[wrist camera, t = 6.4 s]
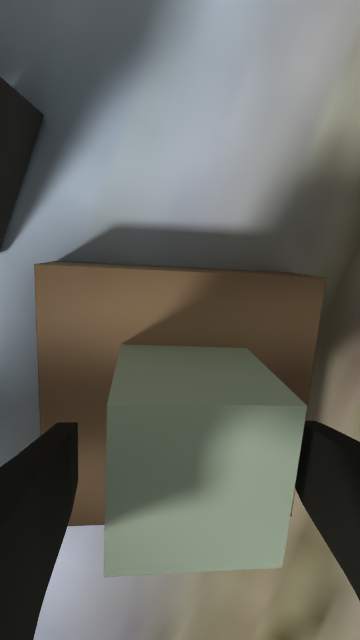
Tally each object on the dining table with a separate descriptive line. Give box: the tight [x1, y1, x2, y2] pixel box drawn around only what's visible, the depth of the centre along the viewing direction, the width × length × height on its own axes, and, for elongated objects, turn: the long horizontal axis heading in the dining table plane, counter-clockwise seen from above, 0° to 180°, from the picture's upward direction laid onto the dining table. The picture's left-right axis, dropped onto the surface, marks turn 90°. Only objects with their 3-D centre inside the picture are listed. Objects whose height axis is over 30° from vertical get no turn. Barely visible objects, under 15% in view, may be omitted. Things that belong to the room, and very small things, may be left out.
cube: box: [104, 344, 307, 577], centre depth 11 cm, size 5×5×5 cm
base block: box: [34, 261, 326, 526], centre depth 15 cm, size 11×11×3 cm
